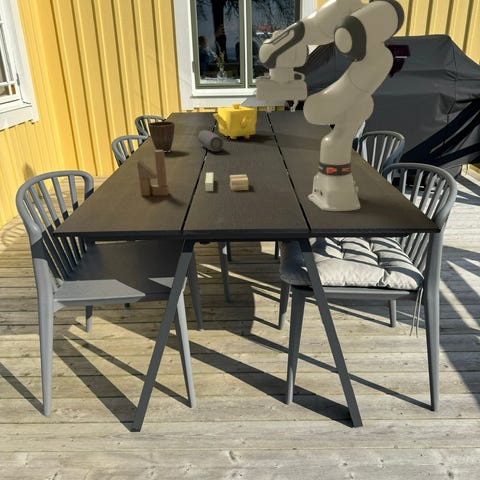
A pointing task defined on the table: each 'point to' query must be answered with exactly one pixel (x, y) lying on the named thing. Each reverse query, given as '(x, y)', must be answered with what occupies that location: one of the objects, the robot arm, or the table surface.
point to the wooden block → (153, 177)
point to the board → (209, 182)
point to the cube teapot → (236, 121)
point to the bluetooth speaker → (210, 140)
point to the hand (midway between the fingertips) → (281, 111)
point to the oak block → (239, 182)
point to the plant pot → (162, 134)
